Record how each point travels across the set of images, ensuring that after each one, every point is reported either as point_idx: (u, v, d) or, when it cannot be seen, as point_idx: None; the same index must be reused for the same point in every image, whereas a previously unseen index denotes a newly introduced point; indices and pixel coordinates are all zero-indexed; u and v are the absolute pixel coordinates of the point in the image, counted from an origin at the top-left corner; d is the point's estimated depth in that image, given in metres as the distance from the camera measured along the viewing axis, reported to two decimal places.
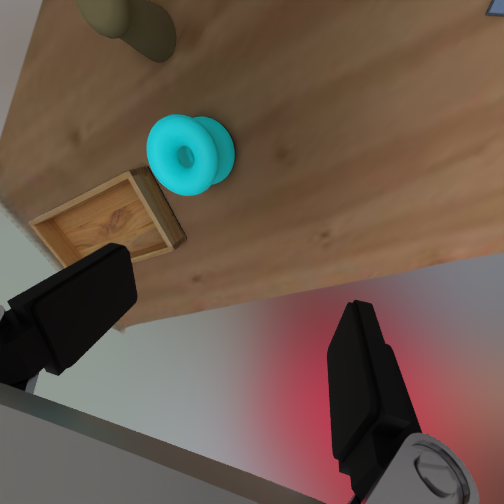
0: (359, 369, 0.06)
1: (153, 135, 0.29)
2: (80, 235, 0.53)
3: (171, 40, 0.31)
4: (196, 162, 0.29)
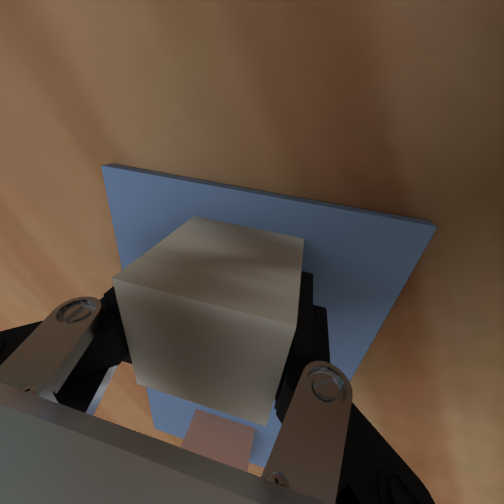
0: None
1: None
2: None
3: None
4: None
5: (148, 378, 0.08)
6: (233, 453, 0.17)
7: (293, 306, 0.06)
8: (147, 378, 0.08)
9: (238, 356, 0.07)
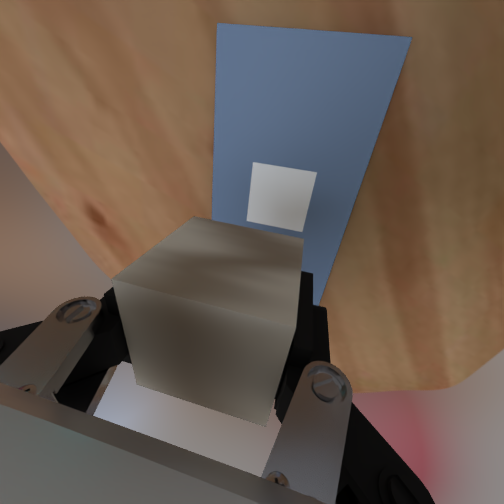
0: None
1: None
2: None
3: None
4: None
5: (148, 379, 0.08)
6: None
7: (293, 307, 0.06)
8: (146, 378, 0.08)
9: (237, 357, 0.07)
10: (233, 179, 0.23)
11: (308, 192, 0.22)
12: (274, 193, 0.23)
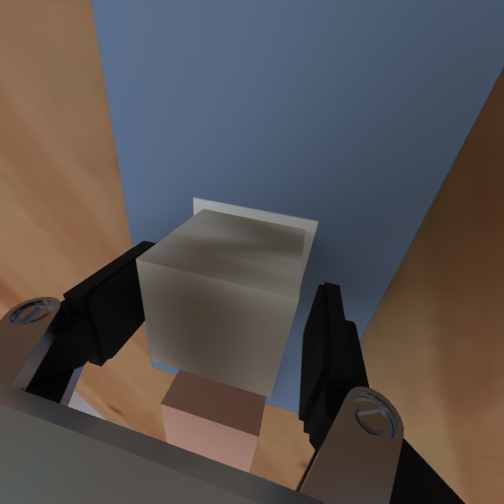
0: (319, 338, 0.07)
1: None
2: None
3: None
4: None
5: (163, 355, 0.09)
6: None
7: (296, 283, 0.07)
8: (161, 354, 0.09)
9: (246, 330, 0.07)
10: (162, 225, 0.12)
11: None
12: None
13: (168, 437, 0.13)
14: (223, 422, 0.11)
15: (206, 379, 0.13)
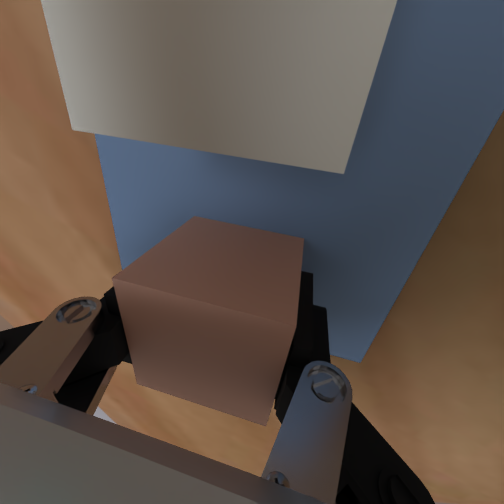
0: None
1: None
2: None
3: None
4: None
5: (90, 93, 0.04)
6: (269, 254, 0.08)
7: None
8: (86, 93, 0.04)
9: None
10: None
11: None
12: None
13: (135, 361, 0.08)
14: (227, 305, 0.06)
15: (197, 258, 0.07)
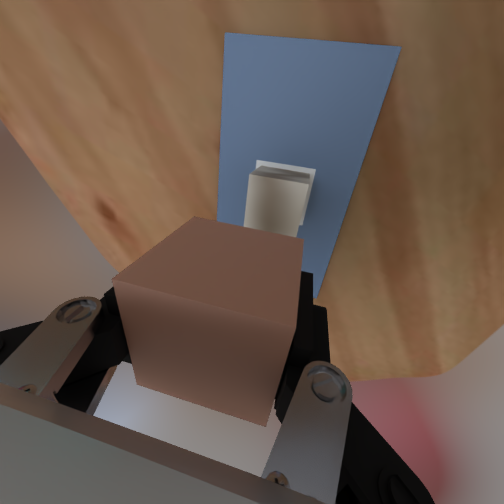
0: None
1: None
2: None
3: None
4: None
5: (249, 223, 0.21)
6: (269, 255, 0.08)
7: (307, 182, 0.19)
8: (249, 223, 0.21)
9: (288, 202, 0.20)
10: (238, 175, 0.25)
11: (308, 188, 0.24)
12: None
13: (135, 361, 0.08)
14: (226, 306, 0.06)
15: (197, 259, 0.07)
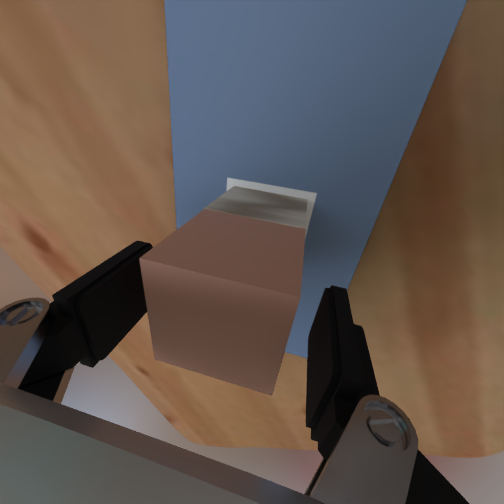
0: (328, 344, 0.07)
1: None
2: None
3: None
4: None
5: None
6: (274, 241, 0.09)
7: (303, 222, 0.11)
8: None
9: None
10: (202, 199, 0.17)
11: None
12: None
13: (154, 336, 0.09)
14: (240, 280, 0.07)
15: (211, 244, 0.08)
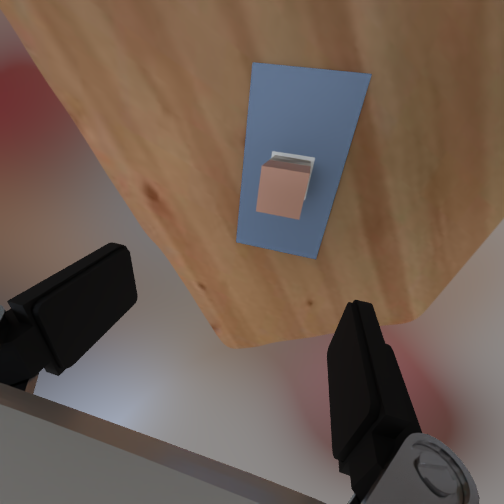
0: (359, 369, 0.06)
1: None
2: None
3: None
4: None
5: None
6: (299, 167, 0.26)
7: (309, 165, 0.28)
8: None
9: None
10: (257, 163, 0.34)
11: None
12: None
13: (258, 199, 0.26)
14: (292, 170, 0.23)
15: (279, 165, 0.25)
